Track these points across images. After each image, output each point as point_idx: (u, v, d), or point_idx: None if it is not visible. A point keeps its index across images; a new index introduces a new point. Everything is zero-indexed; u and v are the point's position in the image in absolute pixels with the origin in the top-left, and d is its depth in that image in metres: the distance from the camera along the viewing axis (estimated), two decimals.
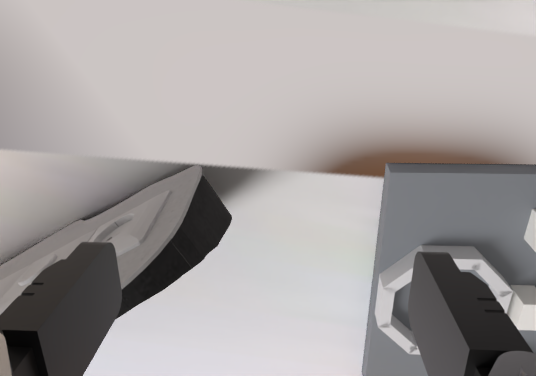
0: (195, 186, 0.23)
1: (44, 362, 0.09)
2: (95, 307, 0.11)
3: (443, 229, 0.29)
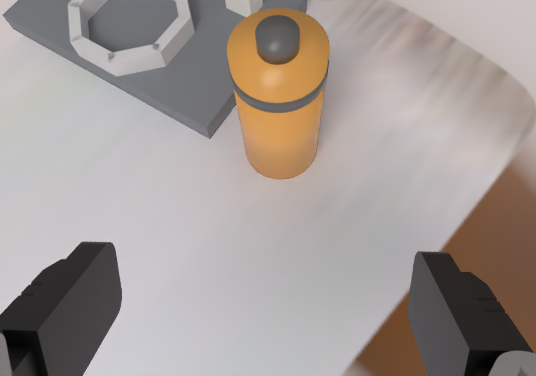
0: None
1: (44, 362, 0.09)
2: (95, 307, 0.11)
3: None
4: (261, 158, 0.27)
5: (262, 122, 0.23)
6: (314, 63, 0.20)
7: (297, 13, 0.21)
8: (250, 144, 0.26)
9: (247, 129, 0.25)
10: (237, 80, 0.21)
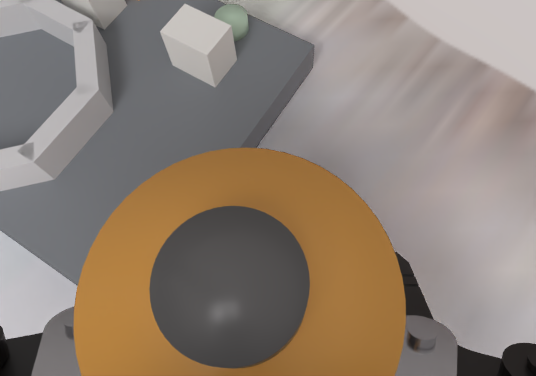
0: None
1: None
2: None
3: None
4: None
5: None
6: (358, 367, 0.06)
7: (300, 168, 0.07)
8: None
9: None
10: None
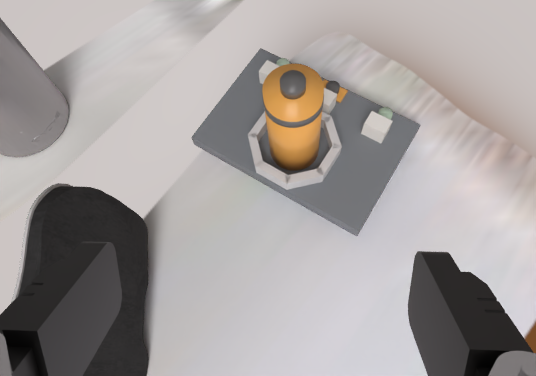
0: None
1: (44, 362, 0.09)
2: (95, 307, 0.11)
3: (245, 126, 0.45)
4: (282, 156, 0.41)
5: (284, 133, 0.36)
6: (315, 97, 0.34)
7: (303, 66, 0.35)
8: (275, 147, 0.40)
9: (274, 138, 0.38)
10: (269, 109, 0.34)
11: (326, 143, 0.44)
